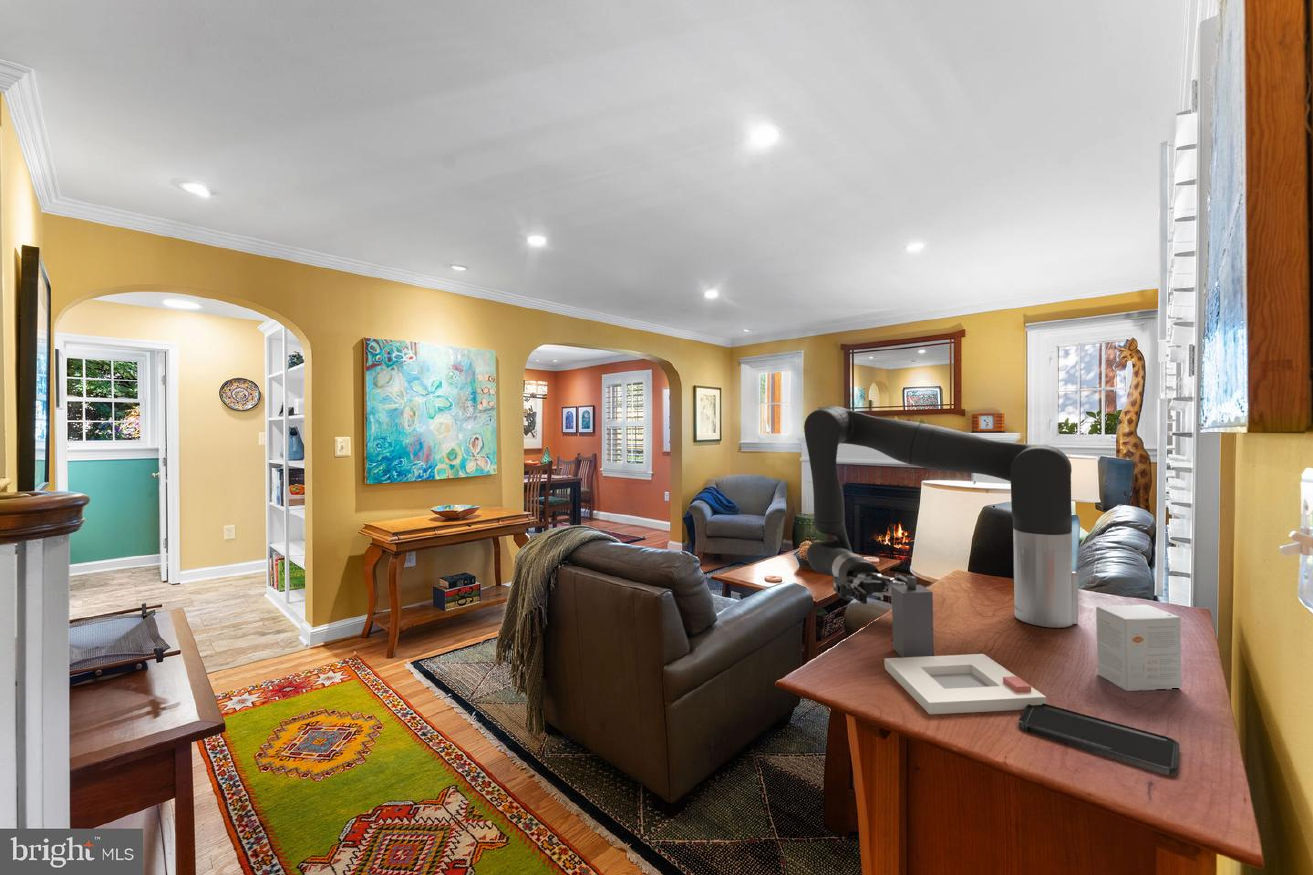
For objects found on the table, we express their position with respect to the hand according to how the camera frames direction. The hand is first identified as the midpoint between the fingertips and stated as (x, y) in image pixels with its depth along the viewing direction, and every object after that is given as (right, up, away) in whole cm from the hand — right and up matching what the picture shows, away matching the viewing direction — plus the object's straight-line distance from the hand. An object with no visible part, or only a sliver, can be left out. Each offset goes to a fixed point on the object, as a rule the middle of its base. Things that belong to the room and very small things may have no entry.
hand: (888, 597), depth 104 cm
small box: (+28, -6, -21) cm, 36 cm away
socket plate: (+2, -7, -21) cm, 22 cm away
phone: (+11, -8, -35) cm, 37 cm away
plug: (0, -7, -9) cm, 11 cm away
